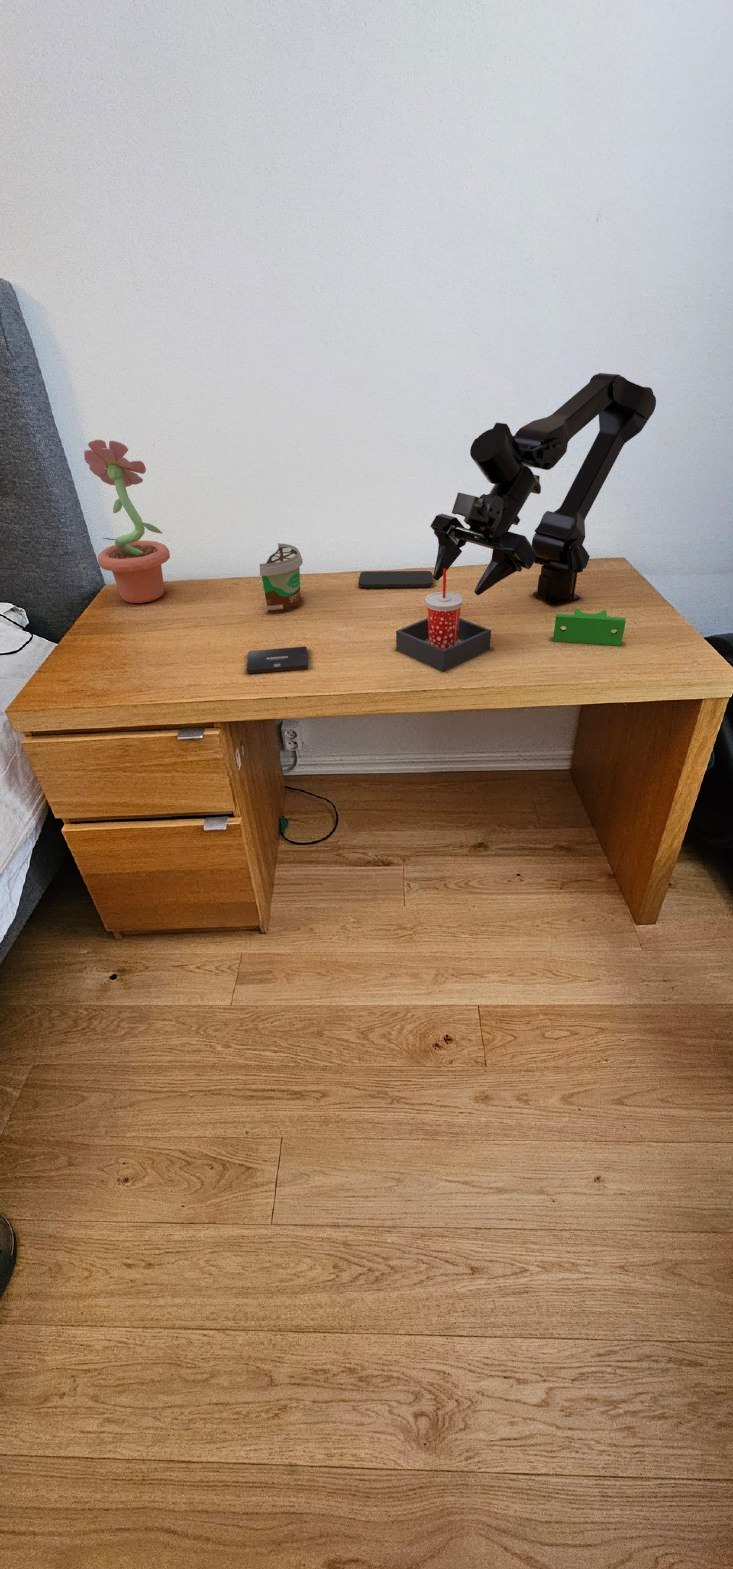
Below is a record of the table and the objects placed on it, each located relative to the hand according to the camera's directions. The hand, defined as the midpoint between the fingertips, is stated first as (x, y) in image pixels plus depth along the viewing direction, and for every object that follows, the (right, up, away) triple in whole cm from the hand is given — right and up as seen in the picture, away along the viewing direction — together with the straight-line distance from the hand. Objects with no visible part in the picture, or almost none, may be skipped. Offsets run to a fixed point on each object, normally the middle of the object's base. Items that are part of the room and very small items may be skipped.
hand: (455, 586), depth 113 cm
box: (-1, -9, +5) cm, 11 cm away
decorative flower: (-60, +6, +30) cm, 67 cm away
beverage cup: (-1, -9, +5) cm, 11 cm away
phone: (-8, +10, +30) cm, 33 cm away
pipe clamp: (+23, -7, +6) cm, 25 cm away
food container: (-29, +3, +24) cm, 38 cm away
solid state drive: (-29, -12, +4) cm, 32 cm away
